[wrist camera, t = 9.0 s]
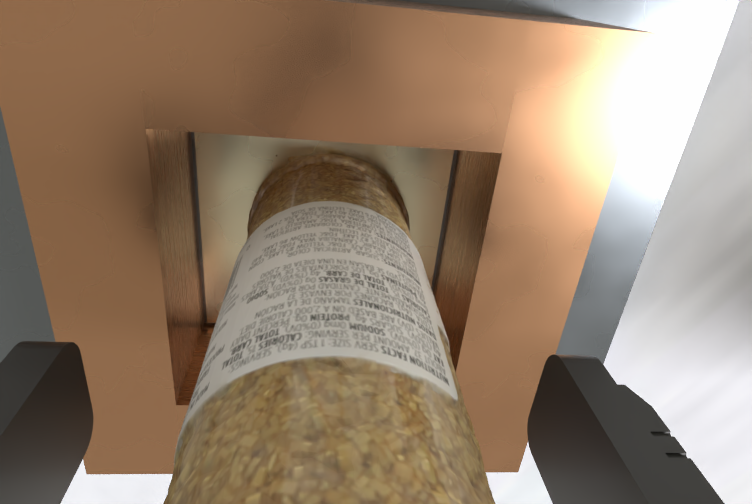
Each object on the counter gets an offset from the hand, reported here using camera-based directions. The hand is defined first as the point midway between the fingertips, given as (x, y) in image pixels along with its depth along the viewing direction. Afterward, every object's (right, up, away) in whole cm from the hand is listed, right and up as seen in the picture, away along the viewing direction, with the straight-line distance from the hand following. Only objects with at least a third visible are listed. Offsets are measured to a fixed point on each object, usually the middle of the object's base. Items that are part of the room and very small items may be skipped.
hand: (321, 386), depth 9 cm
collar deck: (-1, +4, +7) cm, 8 cm away
